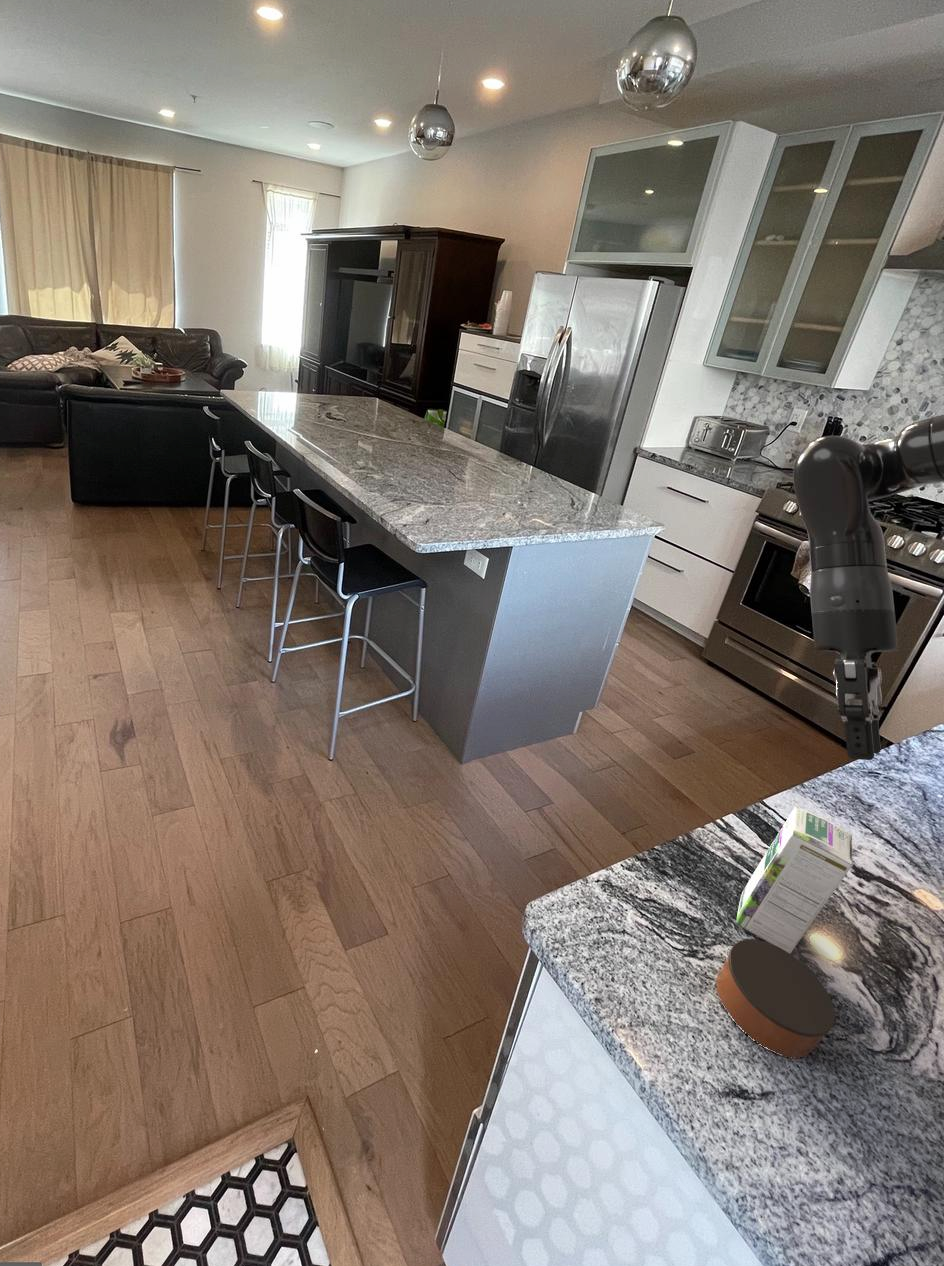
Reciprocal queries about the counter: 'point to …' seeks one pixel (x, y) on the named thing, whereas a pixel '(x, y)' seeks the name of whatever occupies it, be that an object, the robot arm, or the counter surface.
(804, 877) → the syrup box
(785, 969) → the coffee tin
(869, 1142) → the counter surface
